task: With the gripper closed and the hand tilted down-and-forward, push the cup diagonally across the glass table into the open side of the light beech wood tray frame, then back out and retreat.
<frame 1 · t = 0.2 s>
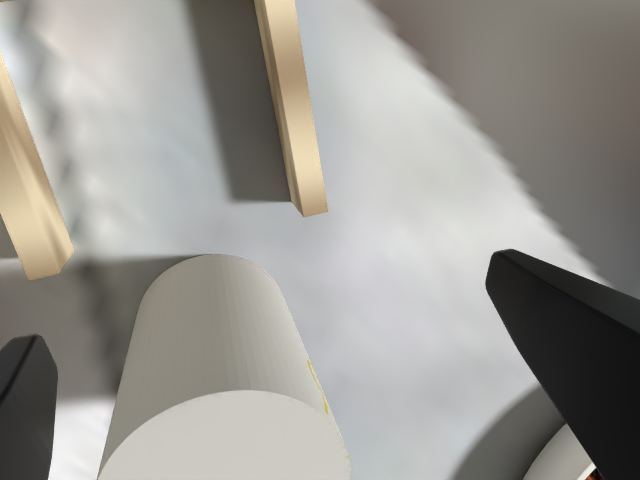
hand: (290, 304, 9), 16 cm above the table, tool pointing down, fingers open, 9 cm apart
cup: (214, 321, 26), on the table
tray: (157, 116, 22), on the table
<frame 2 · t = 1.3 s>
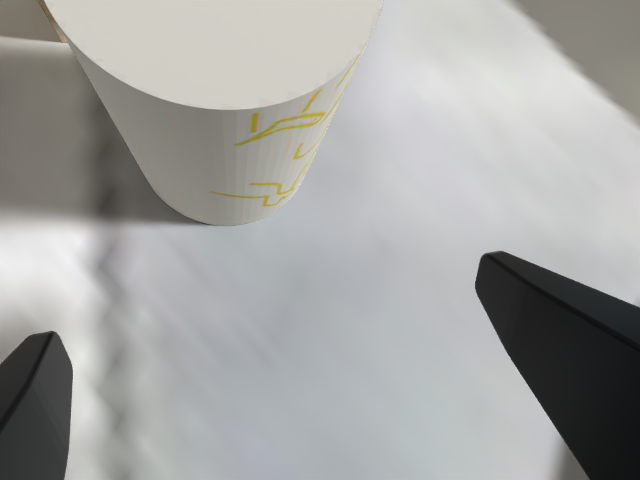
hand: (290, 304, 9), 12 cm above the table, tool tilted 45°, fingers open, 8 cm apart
cup: (226, 144, 23), on the table
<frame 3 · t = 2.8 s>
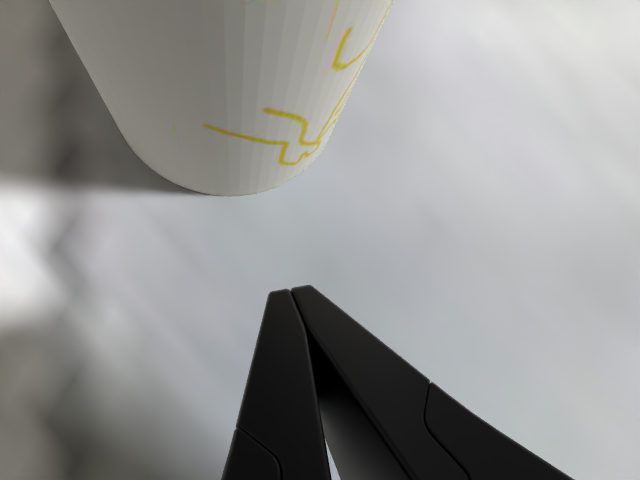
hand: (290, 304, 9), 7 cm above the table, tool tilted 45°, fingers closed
cup: (228, 91, 17), on the table
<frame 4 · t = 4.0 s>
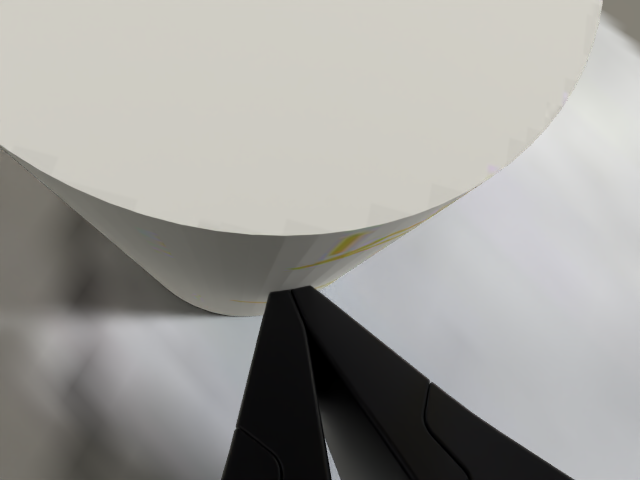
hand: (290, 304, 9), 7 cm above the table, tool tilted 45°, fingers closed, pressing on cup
cup: (247, 202, 17), on the table, touching gripper
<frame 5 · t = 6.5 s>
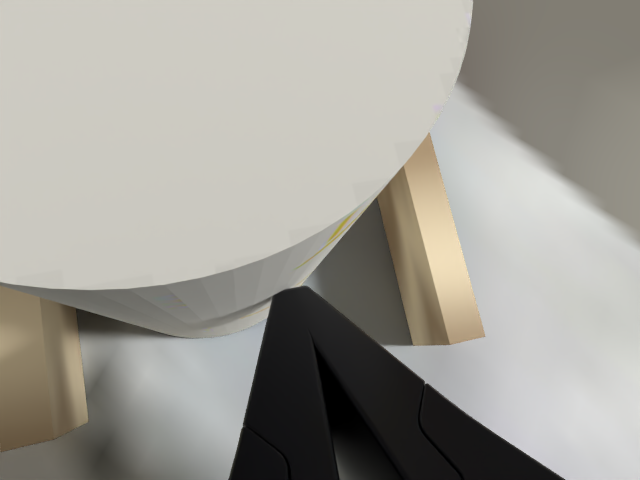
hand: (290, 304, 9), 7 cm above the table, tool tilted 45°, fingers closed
cup: (205, 222, 17), resting in tray, touching gripper
tray: (234, 225, 17), on the table
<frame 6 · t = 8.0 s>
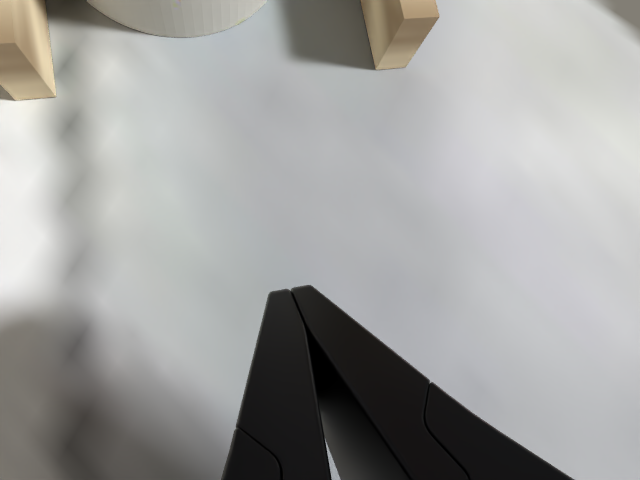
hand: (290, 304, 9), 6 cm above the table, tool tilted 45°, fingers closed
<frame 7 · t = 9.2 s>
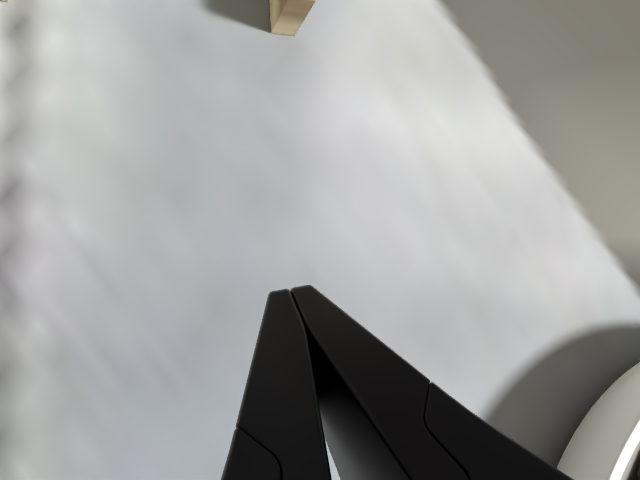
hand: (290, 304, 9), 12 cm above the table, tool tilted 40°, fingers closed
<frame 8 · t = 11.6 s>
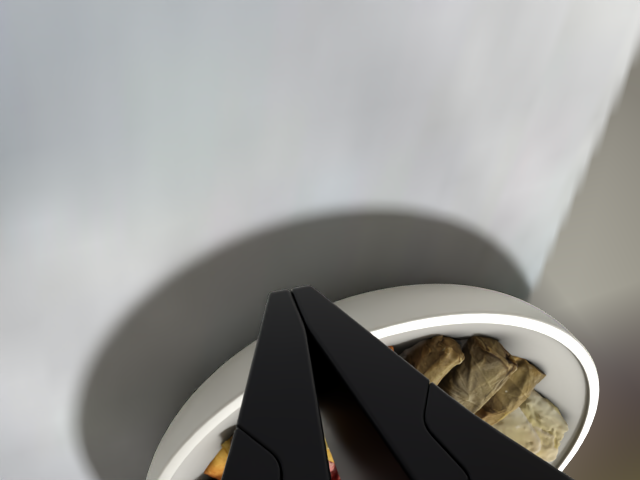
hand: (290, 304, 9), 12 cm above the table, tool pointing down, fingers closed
bowl: (363, 423, 34), on the table
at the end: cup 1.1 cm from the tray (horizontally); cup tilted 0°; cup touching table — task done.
